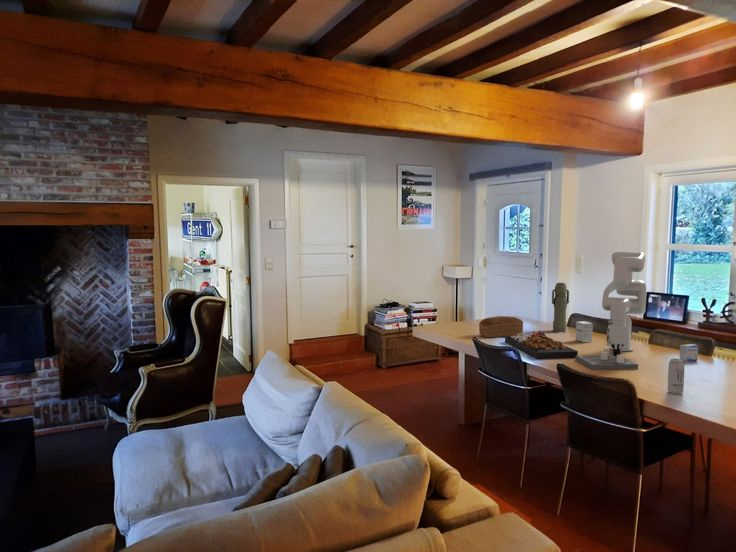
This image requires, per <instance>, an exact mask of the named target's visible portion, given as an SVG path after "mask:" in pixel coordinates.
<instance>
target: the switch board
mask: <svg viewBox="0 0 736 552" xmlns="http://www.w3.org/2000/svg"><path fill="white" fill-rule="evenodd" d="M575 361H576V362H578V363H579V364H582V365H584V366H585V367H587V368H588V369H591V370H595V371H597V370H599V371H601V370H638V369H639V363H636V362H634V361H632V360H629V359H627V358H625V357H624V363H617V357H615V356H614V355H613V354H610V356H609V357H608V360H601V354H596V355H595V354H594V355H589V354H588V355H585V354H584V355H578V356H576V358H575Z"/></svg>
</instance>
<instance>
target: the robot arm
mask: <svg viewBox="0 0 736 552" xmlns="http://www.w3.org/2000/svg"><path fill="white" fill-rule="evenodd" d="M611 261H612V264H613V266H614V267H613V278H612V279H613V280H612V282H610V283H609V284H608V285H607V286H606V287H605V288H604V290H603V292H602V300H601V301H602V302H601V305H602V306H601V307H602V309H603V310H604V311H607V312H609V315H610V316H609V320H608V321H607V323H608V327H607V331H606V345H607V346H608V347H609V349H610V350H612V355H614V356H615V357H617V355H621V352H623V351H629V352H632V351H634V348H633V347H632V346H631V341H632V340H631V339H632V319H631V318H630V316H629V315H637V316H638V315H640V316H641V315H644V314H645V313H646V307H647V306H646V305H647V285H646V284H647V283H646V282H645V281H643V280H640V279H638V280H635V279H633V273H641V272H643V270H644V267H645V263H646V256H645V253H643V252H641V251H615V252H613V253H612V254H611ZM614 291H616V294H617V295H619V296H625V297H614V296H613V297H609V296H610V294H611V293H612V292H614ZM626 296H628V297H626ZM632 297H634V298H632ZM635 297H636V298H635Z"/></svg>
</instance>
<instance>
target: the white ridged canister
mask: <svg viewBox="0 0 736 552" xmlns="http://www.w3.org/2000/svg"><path fill="white" fill-rule="evenodd" d="M593 324H594V323H592V322H590V321H583V320H582V321H576V322H575V341H576V340H578V341H577V342H580V341H581V342H580V343H582V342H586V343H592V342H593ZM591 341H592V342H591Z"/></svg>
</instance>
